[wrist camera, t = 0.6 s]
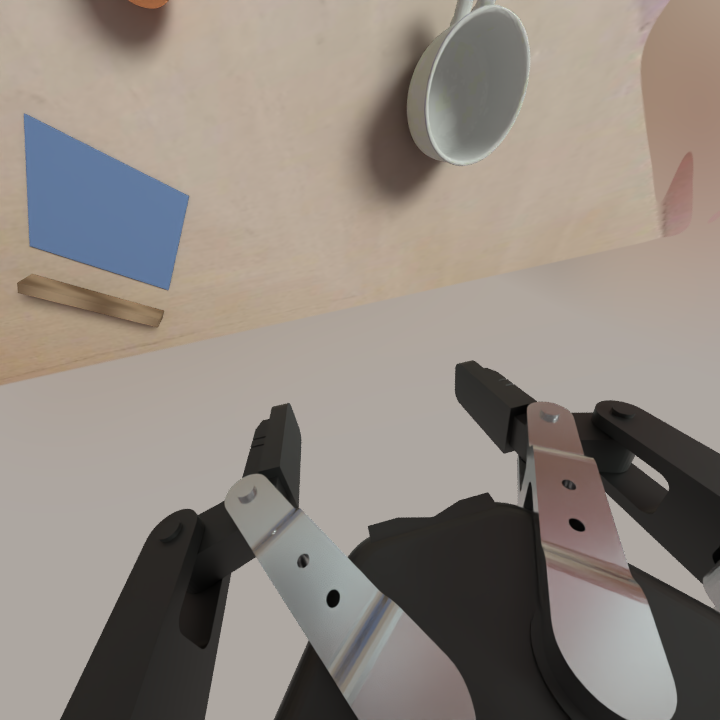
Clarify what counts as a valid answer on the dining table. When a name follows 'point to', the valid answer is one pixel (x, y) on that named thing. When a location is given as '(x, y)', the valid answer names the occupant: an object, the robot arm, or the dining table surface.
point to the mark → (99, 208)
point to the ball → (149, 3)
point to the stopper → (88, 300)
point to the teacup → (469, 84)
